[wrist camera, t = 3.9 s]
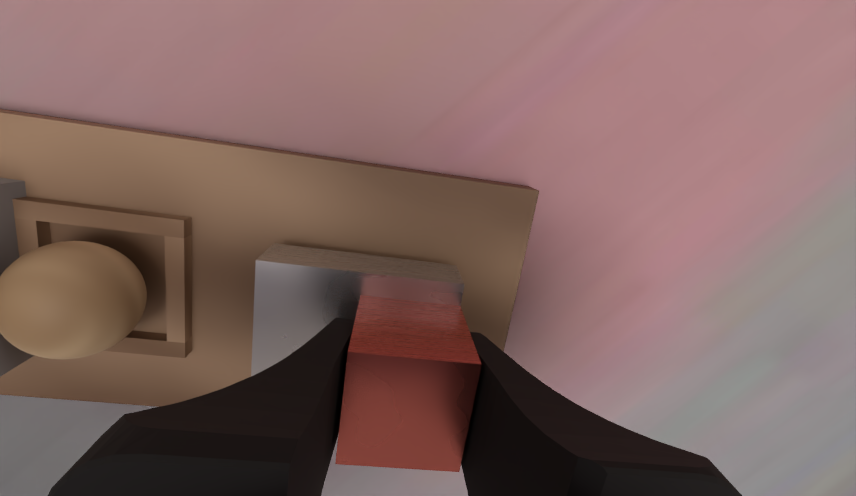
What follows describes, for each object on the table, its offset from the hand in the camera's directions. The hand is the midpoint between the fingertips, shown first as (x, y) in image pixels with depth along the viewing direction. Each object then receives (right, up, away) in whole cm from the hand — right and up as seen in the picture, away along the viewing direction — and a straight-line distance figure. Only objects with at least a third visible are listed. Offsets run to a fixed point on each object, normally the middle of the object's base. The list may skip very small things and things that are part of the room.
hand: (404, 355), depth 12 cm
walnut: (-10, +2, +2) cm, 10 cm away
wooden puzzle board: (-7, +2, +3) cm, 8 cm away
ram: (-2, +1, +2) cm, 3 cm away
